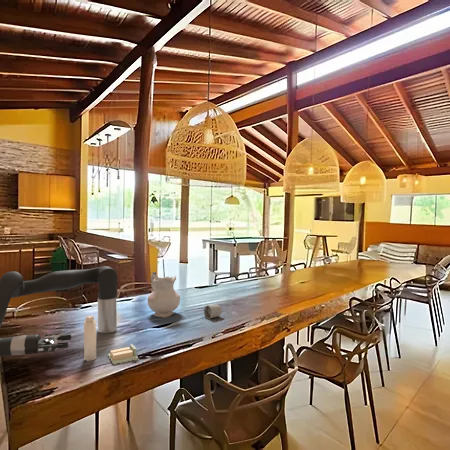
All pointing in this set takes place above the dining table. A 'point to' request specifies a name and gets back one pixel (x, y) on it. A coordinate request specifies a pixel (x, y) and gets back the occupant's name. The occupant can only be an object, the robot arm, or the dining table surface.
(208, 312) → the ceramic mug
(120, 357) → the display stand
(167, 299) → the ceramic pitcher
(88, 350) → the white bottle
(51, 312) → the dining table surface
